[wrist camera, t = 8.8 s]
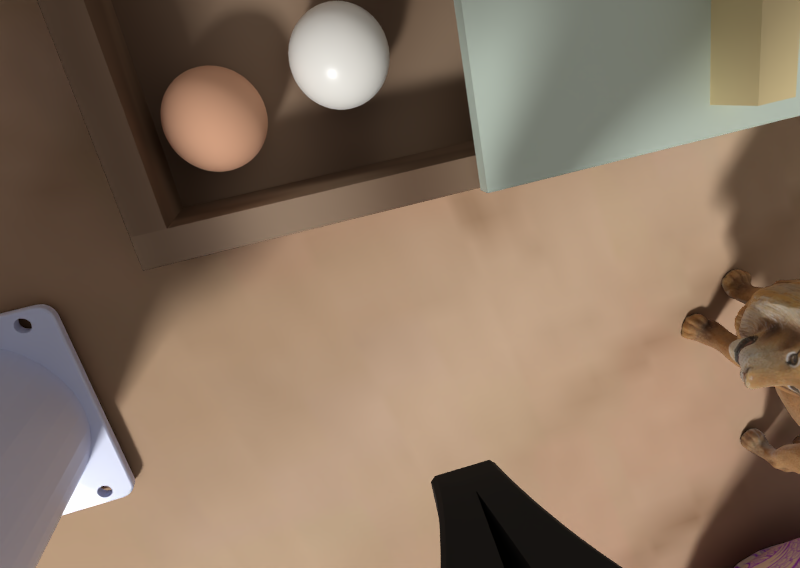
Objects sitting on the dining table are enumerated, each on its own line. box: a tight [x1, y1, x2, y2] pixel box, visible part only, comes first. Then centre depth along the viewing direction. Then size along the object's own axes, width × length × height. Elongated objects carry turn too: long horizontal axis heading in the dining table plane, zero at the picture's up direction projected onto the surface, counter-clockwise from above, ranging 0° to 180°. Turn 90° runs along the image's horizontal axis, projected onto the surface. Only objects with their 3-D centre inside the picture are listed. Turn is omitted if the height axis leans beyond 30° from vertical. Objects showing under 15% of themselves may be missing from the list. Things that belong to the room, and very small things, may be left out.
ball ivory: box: [288, 1, 390, 110], centre depth 16 cm, size 3×3×3 cm
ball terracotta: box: [160, 65, 268, 172], centre depth 16 cm, size 3×3×3 cm
